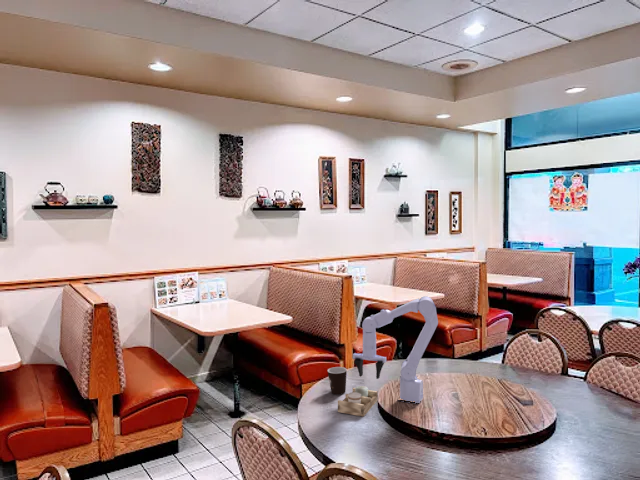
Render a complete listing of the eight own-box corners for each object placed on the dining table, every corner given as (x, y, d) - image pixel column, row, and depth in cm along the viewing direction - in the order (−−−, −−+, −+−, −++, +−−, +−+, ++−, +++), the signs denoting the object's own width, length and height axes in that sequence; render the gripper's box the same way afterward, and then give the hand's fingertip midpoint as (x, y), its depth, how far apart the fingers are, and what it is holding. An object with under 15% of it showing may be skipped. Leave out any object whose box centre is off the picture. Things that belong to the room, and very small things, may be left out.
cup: (362, 406, 201) (363, 393, 201) (358, 411, 196) (358, 397, 196) (350, 404, 203) (350, 391, 203) (346, 409, 199) (346, 395, 198)
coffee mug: (346, 395, 216) (345, 373, 215) (327, 395, 217) (325, 373, 217) (350, 386, 227) (349, 364, 226) (331, 385, 229) (330, 364, 228)
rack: (377, 401, 209) (377, 386, 209) (363, 416, 194) (363, 400, 193) (353, 397, 214) (353, 383, 213) (337, 412, 198) (337, 396, 198)
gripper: (350, 345, 210) (350, 377, 211) (382, 349, 204) (382, 382, 204) (356, 342, 216) (356, 372, 217) (387, 345, 210) (387, 377, 211)
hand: (369, 376), depth 211 cm, fingers open, 7 cm apart
